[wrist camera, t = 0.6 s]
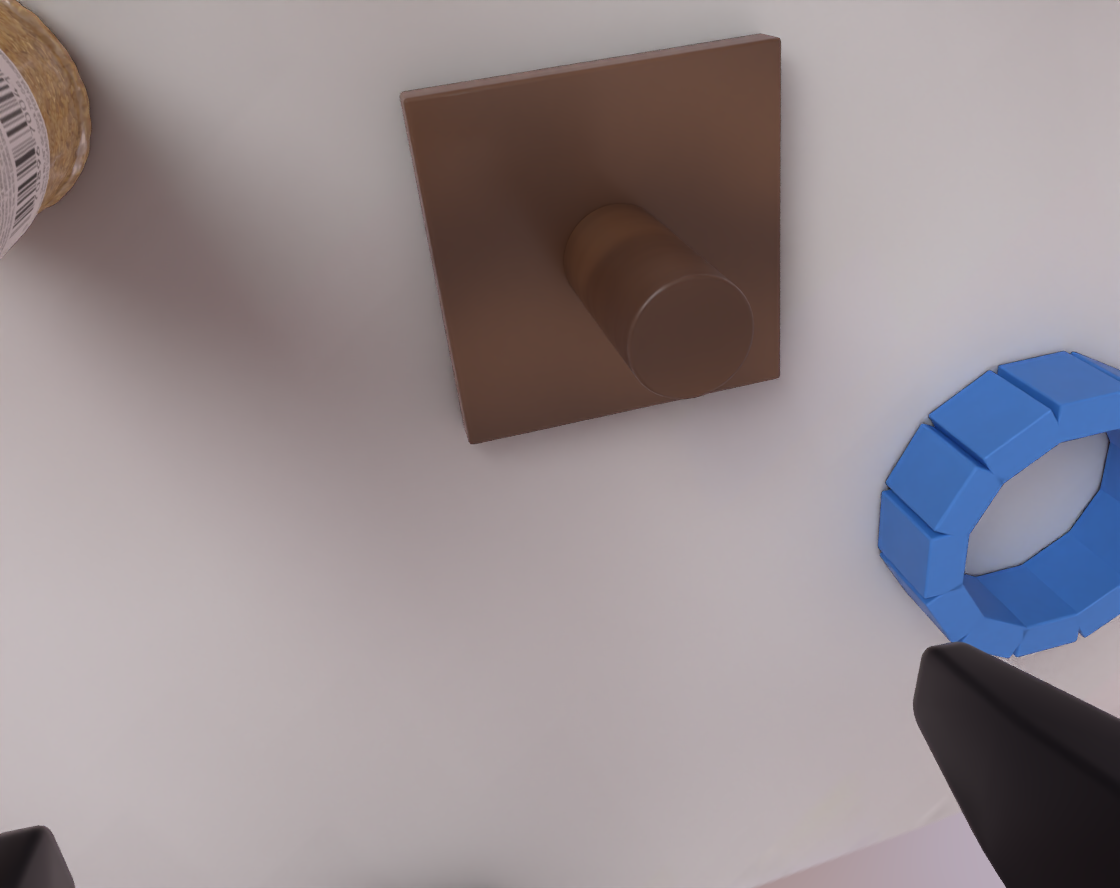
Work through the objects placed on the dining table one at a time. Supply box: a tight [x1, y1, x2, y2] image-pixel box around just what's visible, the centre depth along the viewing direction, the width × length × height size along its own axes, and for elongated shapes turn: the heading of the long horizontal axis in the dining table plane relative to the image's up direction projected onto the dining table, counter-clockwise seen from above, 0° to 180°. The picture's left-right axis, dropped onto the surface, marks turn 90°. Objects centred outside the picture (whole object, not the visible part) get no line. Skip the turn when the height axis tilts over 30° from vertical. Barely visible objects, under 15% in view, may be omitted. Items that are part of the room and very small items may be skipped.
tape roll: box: [878, 351, 1120, 658], centre depth 27 cm, size 9×9×3 cm
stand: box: [400, 34, 781, 444], centre depth 19 cm, size 8×8×6 cm
